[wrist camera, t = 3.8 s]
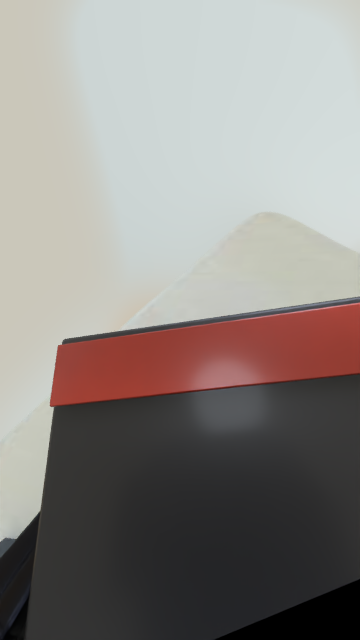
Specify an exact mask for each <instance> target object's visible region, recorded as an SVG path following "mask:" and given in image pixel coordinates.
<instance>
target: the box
mask: <svg viewBox="0 0 360 640" xmlns="http://www.w3.org/2000/svg"><path fill="white" fill-rule="evenodd" d="M50 406H51V407H54V411H53V419H52V426H51V434H50V442H49V450H48V457H47V465H46V473H45V481H44V488H43V496H42V504H41V512H40V519H39V527H38V535H37V543H36V550H35V558H34V566H33V574H32V581H31V589H30V597H29V605H28V612H27V620H26V628H25V636H24V640H360V297H353V298H347V299H340V300H333V301H326V302H319V303H312V304H305V305H298V306H291V307H284V308H277V309H270V310H263V311H256V312H249V313H242V314H235V315H228V316H221V317H215V318H208V319H201V320H194V321H187V322H180V323H173V324H166V325H159V326H152V327H145V328H138V329H131V330H124V331H117V332H111V333H103V334H97V335H90V336H83V337H76V338H69V339H65V340H63V342H62V345H58V350H57V356H56V363H55V371H54V378H53V385H52V392H51V400H50Z"/></svg>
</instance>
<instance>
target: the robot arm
mask: <svg viewBox="0 0 360 640" xmlns="http://www.w3.org/2000/svg"><path fill="white" fill-rule="evenodd" d="M40 512H41V511H40ZM40 512H39V513H38V514H37V516H36V517H35V518H34V519H33V520H32V522H31V523H30V524H29V525H28V526H27V527H26V529H25V530H24V531H23V532H22V533H21V534H20V536H19V537H18V538H17V539H16V540H15V541H14V543H13V544H12V545H11V546H10V547H9V548H8V549H7V550H6V552H5V553H4V554H3V555H2V556H1V557H0V640H24V636H25V628H26V620H27V612H28V605H29V597H30V589H31V581H32V574H33V566H34V558H35V550H36V543H37V535H38V527H39V519H40Z"/></svg>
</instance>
